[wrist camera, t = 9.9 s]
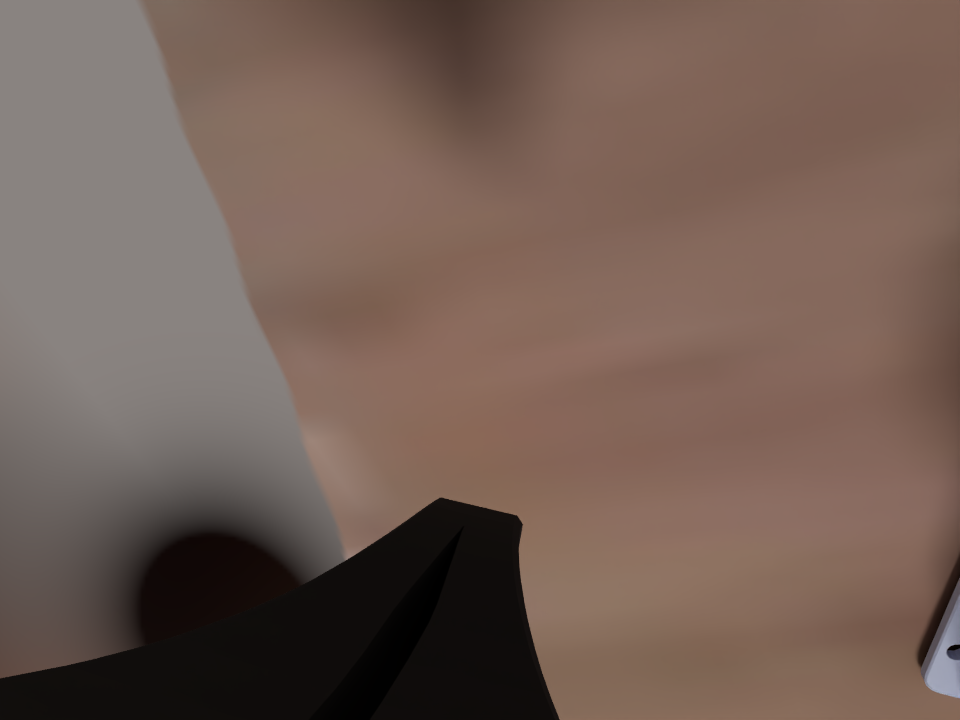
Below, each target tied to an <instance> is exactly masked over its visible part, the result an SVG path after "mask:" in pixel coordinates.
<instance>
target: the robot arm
mask: <svg viewBox="0 0 960 720" xmlns="http://www.w3.org/2000/svg"><path fill="white" fill-rule="evenodd" d="M522 526H523V524H522V522H521V521H520V519H519V518H518V516H517V515H512V514H508V513H504V512H500V511H495V510H491V509H487V508H483V507H479V506H474V505H470V504H466V503H462V502H457V501H453V500H449V499H445V498H439V499H437V500H435V501H434V502H432V503H431V504H429V505H428V506H426V507H425V508H424V509H422V510H421V511H419V512H418V513H416V514H415V515H414V516H412V517H411V518H409V519H408V520H407V521H405V522H404V523H402V524H401V525H400V526H398V527H397V528H395V529H394V530H392V531H391V532H389V533H388V534H386V535H385V536H383V537H382V538H380V539H379V540H377V541H376V542H374V543H373V544H371V545H370V546H368V547H367V548H365V549H364V550H362V551H360V552H359V553H357V554H356V555H354V556H353V557H351V558H349V559H348V560H346V561H344V562H343V563H341V564H339V565H337V566H336V567H334V568H332V569H330V570H329V571H327V572H325V573H323V574H322V575H320V576H318V577H317V578H315V579H313V580H311V581H309V582H307V583H305V584H303V585H301V586H300V587H297V588H295V589H294V590H291V591H289V592H287V593H285V594H283V595H281V596H278V597H276V598H274V599H272V600H270V601H267V602H265V603H263V604H261V605H258V606H256V607H254V608H251V609H249V610H247V611H244V612H242V613H239V614H237V615H234V616H231V617H228V618H225V619H223V620H220V621H217V622H214V623H212V624H209V625H206V626H203V627H200V628H198V629H195V630H192V631H189V632H186V633H184V634H181V635H178V636H175V637H172V638H169V639H166V640H162V641H159V642H156V643H152V644H149V645H145V646H142V647H139V648H135V649H131V650H127V651H124V652H120V653H116V654H112V655H108V656H104V657H100V658H97V659H93V660H89V661H85V662H80V663H76V664H71V665H67V666H62V667H57V668H51V669H47V670H42V671H36V672H31V673H26V674H21V675H16V676H11V677H5V678H1V679H0V720H560V719H559V717H558V714H557V712H556V709H555V707H554V704H553V702H552V699H551V697H550V694H549V691H548V688H547V685H546V682H545V680H544V677H543V674H542V671H541V667H540V664H539V661H538V658H537V654H536V651H535V647H534V643H533V639H532V635H531V631H530V627H529V623H528V619H527V614H526V609H525V603H524V597H523V591H522V584H521V578H520V568H519V543H520V537H521V531H522ZM955 644H957V645H960V578H959V580H958V582H957V585H956V587H955V590H954V592H953V594H952V597H951V599H950V601H949V604H948V606H947V608H946V611H945V613H944V615H943V618H942V620H941V622H940V625H939V627H938V630H937V632H936V634H935V637H934V639H933V641H932V644H931V646H930V648H929V651H928V653H927V655H926V658H925V660H924V662H923V665H922V667H921V675H922V677H923V679H924V681H925V683H926V685H927V686H928V687H929V688H930V689H931V690H933V691H935V692H937V693H941V694H945V695H949V696H953V697H957V698H960V648H959V649H957V650H954V651H952V650H947V649H948V648H949V647H950V646H952V645H955Z"/></svg>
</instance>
